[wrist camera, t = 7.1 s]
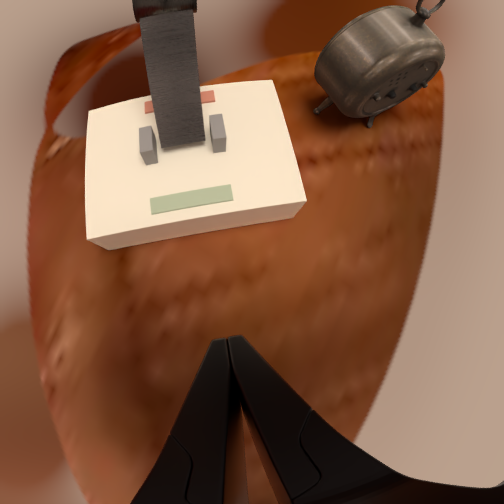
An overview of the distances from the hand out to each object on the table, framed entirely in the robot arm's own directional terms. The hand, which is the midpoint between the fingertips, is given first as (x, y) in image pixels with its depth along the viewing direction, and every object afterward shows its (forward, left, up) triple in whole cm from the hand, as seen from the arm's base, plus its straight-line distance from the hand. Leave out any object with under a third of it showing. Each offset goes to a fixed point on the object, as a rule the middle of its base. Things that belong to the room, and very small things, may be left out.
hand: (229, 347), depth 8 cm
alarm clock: (+22, +2, -13) cm, 26 cm away
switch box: (+7, +9, -13) cm, 17 cm away
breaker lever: (+7, +9, -9) cm, 14 cm away
